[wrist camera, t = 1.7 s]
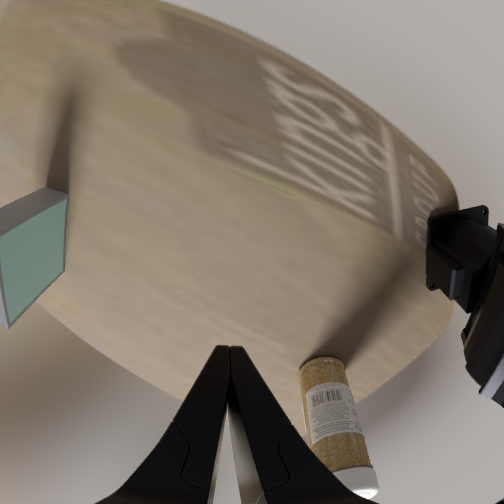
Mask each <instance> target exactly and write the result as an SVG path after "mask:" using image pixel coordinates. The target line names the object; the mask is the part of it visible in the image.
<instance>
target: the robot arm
mask: <svg viewBox="0 0 504 504" xmlns="http://www.w3.org/2000/svg"><path fill="white" fill-rule="evenodd" d="M483 211H484V212H483ZM488 215H489V210H488V208H487V207H486V206H484V205H481V206H477V207H472V208H468V209H463V210H458V211H454V212H449V213H445V214H440V215H436V216H432V217H430V218H429V220H428V245H427V247H426V274H427V280H426V287H427V288H428V289H429V290H430V291H433V290H436V289H439V288H440V290H441V291H442V292H443V293H444V294H445V295H446V296H447V297H448V298H449V299H450V300H453V299H454V300H455V301H456V302H457V303H458V304H459V305H460V306H461V308H462V309H463V310H464V311H465V312H466V313H467V314H468V313H471V315H470V318H469V320H468V322H467V324H466V327H465V328H464V329H463V331H462V333H461V338H462V342H463V345H464V355H465V359H466V362H467V364H466V366H465V367H466V370H467V371H468V373H469V374H470V376H471V377H472V378H473V379H474V380H475V382H477V383H478V384H479V385H480V386H481V388H480V390H479V394H480V395H483V396H485V397H488V398H490V399H492V400H494V401H495V402H497V403H498V404H500V405H501V406H502V407H503V408H504V224H501V223H498V226H497V230H495V229H493V228H492V227H490V226H488ZM434 221H435V224H434V225H433V222H434ZM432 283H433V285H431V284H432ZM227 409H228V419H229V426H230V433H231V440H232V447H233V454H234V460H235V467H236V473H237V480H238V486H239V492H240V497H241V504H379V503H376V502H374V501H371V500H369V499H366V498H364V497H362V496H359V495H357V494H356V493H354V492H353V491H351V490H350V489H348V488H347V487H346V486H345V485H344V484H343V483H342V482H341V481H340V480H339V479H338V478H337V477H336V476H335V475H334V474H333V473H332V472H331V471H330V470H329V469H328V468H327V467H326V466H325V465H324V464H323V463H322V461H321V460H320V459H319V458H318V457H317V456H316V455H315V454H314V453H313V451H312V450H311V449H310V448H309V447H308V446H307V444H306V443H305V441H304V440H303V439H302V437H301V436H300V435H299V433H298V432H297V430H296V429H295V427H294V426H293V425H291V424H292V423H291V421H290V420H289V418H288V417H287V415H286V414H285V412H284V411H283V409H282V408H281V406H280V405H279V403H278V402H277V400H276V399H275V397H274V395H273V394H272V392H271V391H270V389H269V388H268V386H267V384H266V383H265V381H264V380H263V378H262V377H261V375H260V373H259V372H258V370H257V368H256V367H255V365H254V364H253V362H252V360H251V359H250V357H249V355H248V354H247V352H246V351H245V349H244V348H243V347H242V346H230V348H229V346H227V345H217V346H216V347H215V348H214V350H213V352H212V353H211V355H210V357H209V359H208V360H207V362H206V364H205V366H204V367H203V369H202V371H201V372H200V374H199V376H198V378H197V379H196V381H195V383H194V384H193V386H192V388H191V389H190V391H189V393H188V395H187V396H186V398H185V400H184V401H183V403H182V405H181V406H180V408H179V410H178V412H177V413H176V415H175V417H174V418H173V421H172V422H171V423H170V425H169V426H168V428H167V430H166V431H165V433H164V434H163V436H162V438H161V439H160V441H159V442H158V444H157V445H156V446H155V447H154V449H153V450H152V451H151V453H150V454H149V455H148V456H147V457H146V459H145V460H144V461H143V462H142V463H141V465H140V466H139V467H138V468H137V469H136V471H135V472H134V473H133V474H132V475H131V476H130V477H129V478H128V480H127V481H126V482H125V483H124V484H123V485H122V486H121V487H120V488H119V489H118V490H116V491H115V492H114V493H112V494H111V495H109V496H108V497H106V498H104V499H103V500H101V501H98V502H96V503H95V504H213V499H214V492H215V485H216V479H217V472H218V464H219V459H220V452H221V446H222V439H223V432H224V426H225V419H226V412H227ZM495 504H504V498H503V499H502V500H500V501H498V502H497V503H495Z"/></svg>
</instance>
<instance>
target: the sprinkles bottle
mask: <svg viewBox="0 0 504 504" xmlns="http://www.w3.org/2000/svg"><path fill="white" fill-rule="evenodd" d="M298 381H299V384H300V389H301V395H302V408H303V416H304V422H305V429H306V432H307V438H308V445H309V448H310V449H311V450H312V451H313V453H314V454H315V455H316V456H317V457H318V458H319V459H320V460H321V461H322V463H323V464H324V465H325V466H326V467H327V468H328V469H329V470H330V471H331V472H332V473H333V474H334V475H335V476H336V477H337V478H338V479H339V480H340V481H341V482H342V483H343V484H344V485H345V486H346V487H347V488H348V489H350V490H351V491H353V492H354V493H356V494H357V495H359V496H362V497H364V498H366V499H370V498H371V497H373V496H374V495H375V494H377V492H378V491H379V485H378V480H377V476H376V472H375V470H374V469H373V466H372V465H371V463H370V459H369V456H368V452H367V448H366V444H365V437H364V434H363V430H362V427H361V423H360V419H359V416H358V412H357V409H356V405H355V402H354V399H353V395H352V392H351V389H350V388H349V385H348V381H347V378H346V375H345V367H344V365H343V363H342V362H341V361H340V360H338V359H336V358H332V357H321V358H316V359H313V360H311V361H309V362H307V363H306V364H304V365H303V367H302V368H301V369H300V370H299V372H298Z"/></svg>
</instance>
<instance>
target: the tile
mask: <svg viewBox="0 0 504 504" xmlns="http://www.w3.org/2000/svg"><path fill="white" fill-rule="evenodd" d="M68 198H69V194H67V193H64V192H61V191H57V190H54V189H51V188H47V187H44V188H42V189H40V190H38V191H35V192H33V193H31V194H29V195H26V196H24V197H22V198H20V199H18V200H16V201H14V202H12V203H9V204H7V205H5V206H3V207H1V208H0V324H1V325H2V326H4V327H5V328H7V329H9V328H10V327H11V326H12V325H13V324H14V323H15V322H16V321H17V320H18V318H19V317H20V316H21V315H22V314H23V313H24V312H25V311H26V310H27V309H28V308H29V307H30V306H31V305H32V303H33V302H34V301H35V300H36V299H37V298H38V297H39V296H40V295H41V294H42V293H43V292H44V291H45V290H46V289H47V288H48V287H49V286H50V285H51V284H52V283H53V282H54V281H55V280H56V279H57V278H58V277H59V276H60V275H61V274H62V273H64V272H65V236H66V221H67V209H68Z"/></svg>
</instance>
